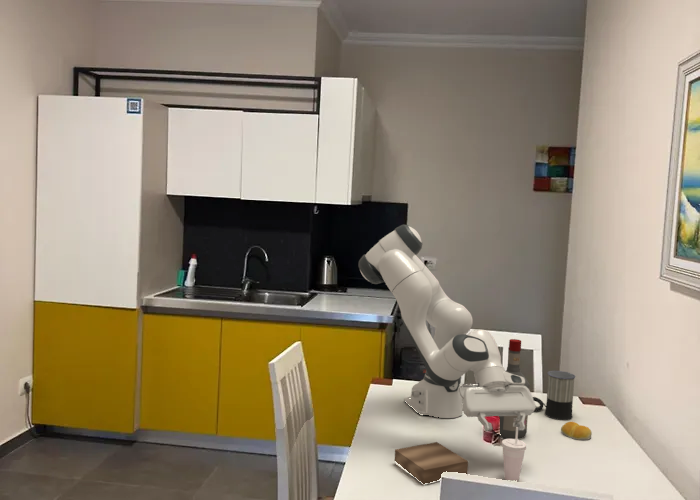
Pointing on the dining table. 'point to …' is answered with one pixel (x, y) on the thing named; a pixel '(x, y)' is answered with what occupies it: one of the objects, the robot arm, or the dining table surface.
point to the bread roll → (576, 431)
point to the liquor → (513, 367)
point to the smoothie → (513, 457)
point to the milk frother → (558, 395)
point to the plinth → (430, 461)
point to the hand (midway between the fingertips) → (505, 429)
